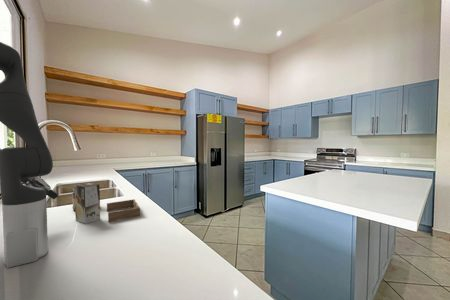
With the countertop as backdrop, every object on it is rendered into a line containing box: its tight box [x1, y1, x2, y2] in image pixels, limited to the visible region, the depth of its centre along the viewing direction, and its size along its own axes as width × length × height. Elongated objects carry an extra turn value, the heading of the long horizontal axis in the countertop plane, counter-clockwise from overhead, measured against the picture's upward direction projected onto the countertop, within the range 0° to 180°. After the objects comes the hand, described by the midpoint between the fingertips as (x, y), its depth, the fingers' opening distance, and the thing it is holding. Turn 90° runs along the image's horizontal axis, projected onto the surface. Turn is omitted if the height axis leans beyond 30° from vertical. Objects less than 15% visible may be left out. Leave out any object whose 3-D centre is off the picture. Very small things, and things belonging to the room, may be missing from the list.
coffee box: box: [73, 182, 101, 225], centre depth 87 cm, size 9×6×16 cm
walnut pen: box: [106, 199, 141, 223], centre depth 94 cm, size 17×13×4 cm
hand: (56, 197), depth 81 cm, fingers closed
